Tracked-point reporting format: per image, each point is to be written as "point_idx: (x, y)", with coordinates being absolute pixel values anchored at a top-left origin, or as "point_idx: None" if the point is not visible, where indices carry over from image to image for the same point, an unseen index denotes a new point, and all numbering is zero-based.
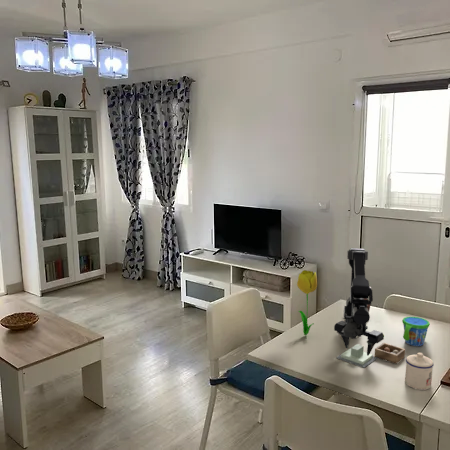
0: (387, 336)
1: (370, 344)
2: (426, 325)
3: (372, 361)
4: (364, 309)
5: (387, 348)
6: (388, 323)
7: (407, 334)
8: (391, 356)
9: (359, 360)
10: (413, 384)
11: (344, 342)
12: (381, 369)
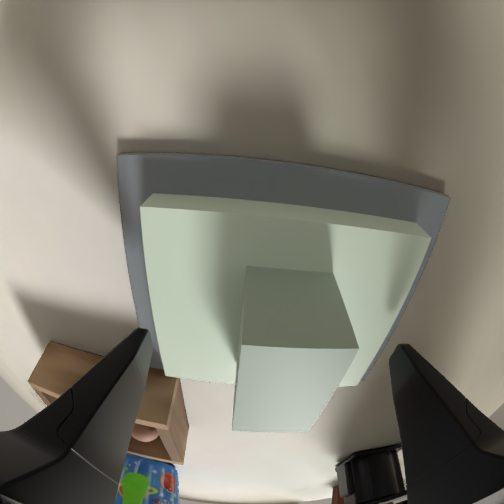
0: (240, 473)
1: (11, 440)
2: None
3: (136, 307)
4: None
5: (134, 436)
6: (272, 491)
7: (126, 494)
8: (58, 378)
9: (189, 212)
10: None
11: (448, 386)
12: (35, 231)
